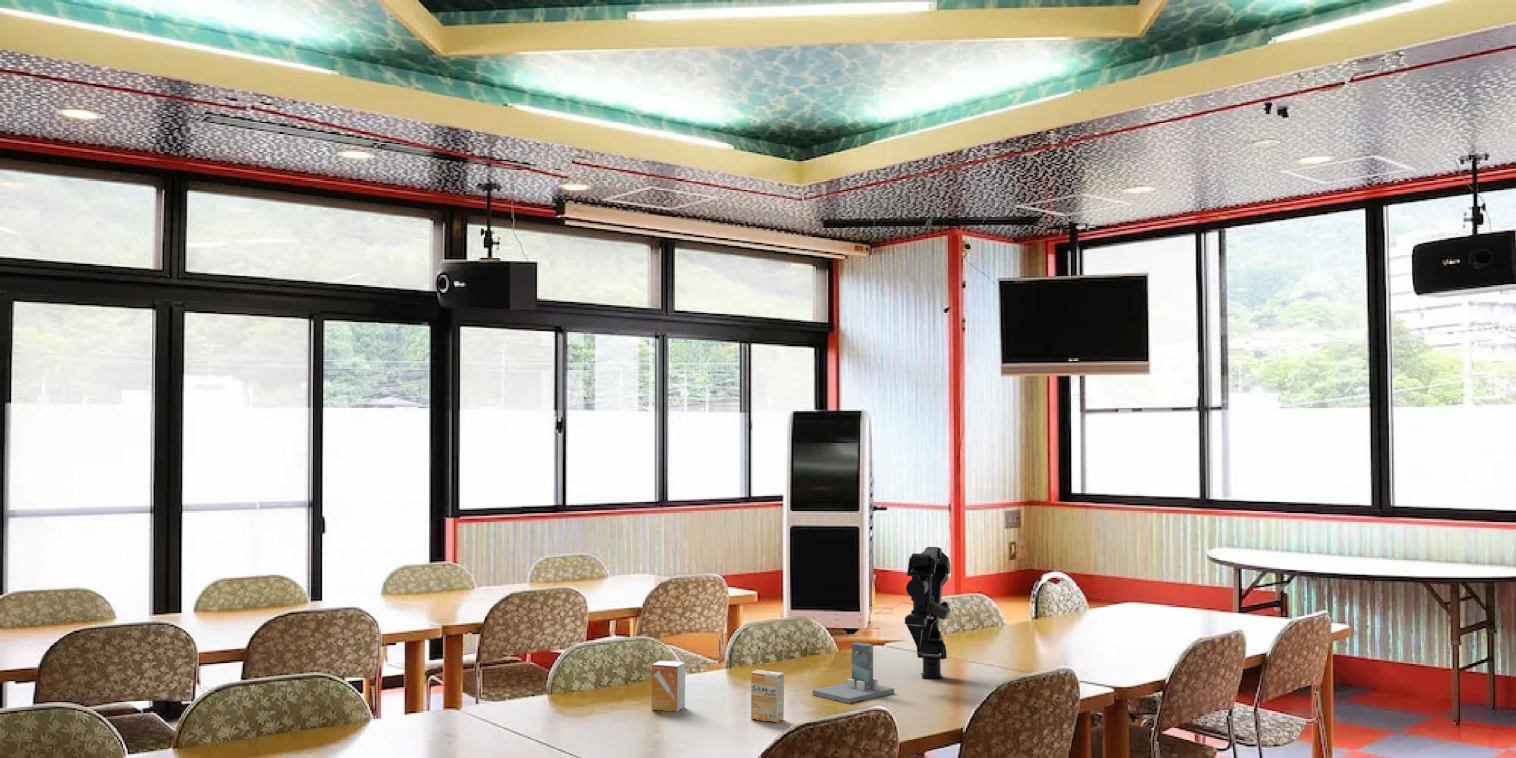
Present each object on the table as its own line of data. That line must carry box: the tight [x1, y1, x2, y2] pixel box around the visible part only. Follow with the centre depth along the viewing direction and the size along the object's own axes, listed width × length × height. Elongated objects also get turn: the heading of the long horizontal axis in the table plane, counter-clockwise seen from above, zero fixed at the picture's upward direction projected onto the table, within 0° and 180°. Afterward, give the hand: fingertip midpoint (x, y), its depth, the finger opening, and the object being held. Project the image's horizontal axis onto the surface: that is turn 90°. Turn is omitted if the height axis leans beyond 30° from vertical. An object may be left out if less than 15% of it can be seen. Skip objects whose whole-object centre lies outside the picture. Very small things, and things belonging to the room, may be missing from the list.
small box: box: [651, 660, 686, 712], centre depth 334 cm, size 8×6×13 cm
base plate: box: [812, 677, 895, 704], centre depth 352 cm, size 20×15×4 cm
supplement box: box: [750, 669, 785, 723], centre depth 321 cm, size 8×5×13 cm, turn 62°
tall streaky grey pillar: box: [851, 641, 874, 690], centre depth 355 cm, size 4×6×13 cm, turn 42°
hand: (922, 644), depth 364 cm, fingers open, 9 cm apart
